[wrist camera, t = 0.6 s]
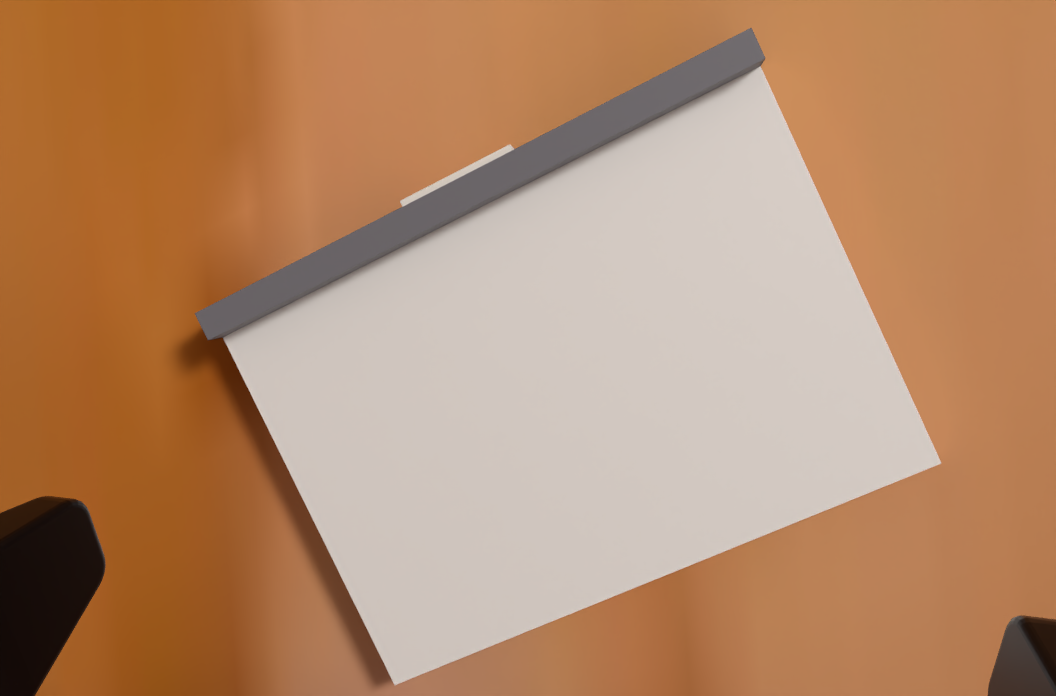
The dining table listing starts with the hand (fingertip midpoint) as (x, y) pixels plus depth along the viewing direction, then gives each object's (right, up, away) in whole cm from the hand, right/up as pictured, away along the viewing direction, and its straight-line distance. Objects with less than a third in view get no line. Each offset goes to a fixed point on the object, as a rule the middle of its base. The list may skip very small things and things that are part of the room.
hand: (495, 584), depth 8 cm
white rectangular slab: (+1, +1, +15) cm, 15 cm away
